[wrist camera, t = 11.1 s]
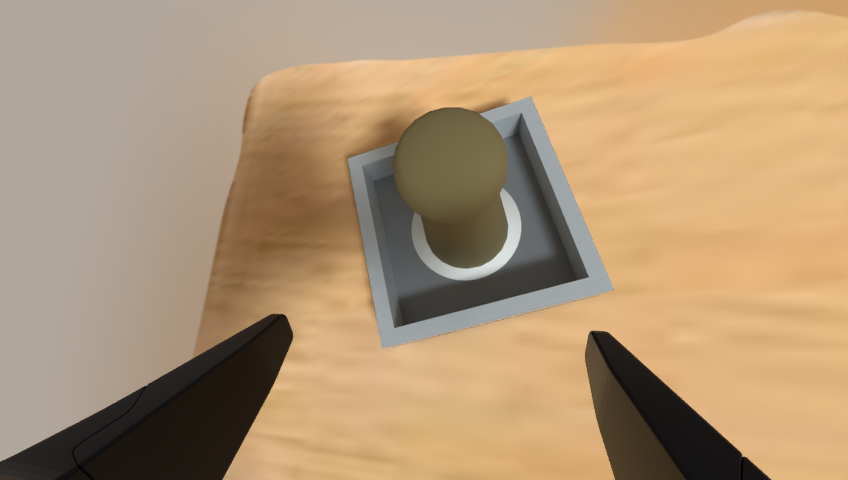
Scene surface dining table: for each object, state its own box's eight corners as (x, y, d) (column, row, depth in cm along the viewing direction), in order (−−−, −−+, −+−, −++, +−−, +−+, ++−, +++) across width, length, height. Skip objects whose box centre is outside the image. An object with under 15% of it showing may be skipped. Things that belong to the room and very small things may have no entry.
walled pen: (597, 295, 21) (614, 289, 18) (396, 346, 23) (382, 348, 20) (526, 122, 25) (531, 96, 22) (362, 176, 27) (347, 158, 24)
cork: (522, 251, 22) (548, 180, 12) (440, 280, 23) (395, 238, 12) (489, 178, 24) (487, 61, 14) (415, 207, 25) (358, 117, 14)
